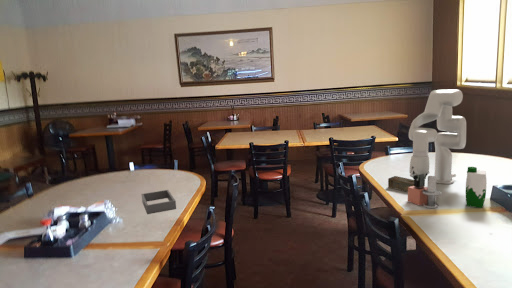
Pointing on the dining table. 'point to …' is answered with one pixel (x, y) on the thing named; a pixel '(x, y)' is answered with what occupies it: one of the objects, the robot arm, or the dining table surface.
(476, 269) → the dining table surface
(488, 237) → the dining table surface
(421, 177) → the gray square bar
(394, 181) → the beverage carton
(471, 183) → the milk carton
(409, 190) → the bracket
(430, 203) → the silver flanged rod
